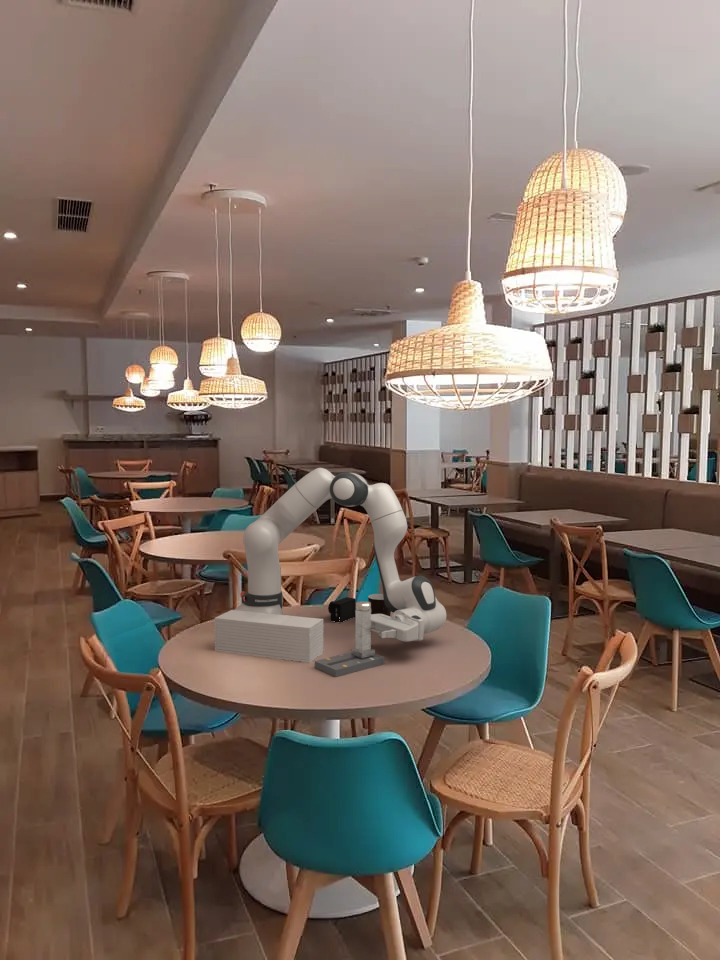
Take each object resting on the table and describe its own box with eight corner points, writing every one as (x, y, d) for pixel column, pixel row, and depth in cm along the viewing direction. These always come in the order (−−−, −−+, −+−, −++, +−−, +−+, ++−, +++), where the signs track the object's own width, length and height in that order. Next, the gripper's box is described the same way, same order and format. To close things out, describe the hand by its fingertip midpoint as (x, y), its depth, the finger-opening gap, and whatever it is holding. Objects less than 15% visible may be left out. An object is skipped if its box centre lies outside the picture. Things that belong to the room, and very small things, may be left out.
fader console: (335, 677, 207) (335, 669, 207) (314, 667, 215) (314, 660, 215) (384, 663, 219) (384, 656, 218) (362, 655, 226) (362, 648, 226)
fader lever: (361, 658, 216) (362, 606, 215) (351, 654, 220) (351, 602, 219) (374, 655, 219) (375, 603, 218) (364, 651, 223) (364, 600, 222)
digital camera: (343, 614, 274) (343, 596, 274) (356, 617, 271) (356, 598, 271) (327, 621, 265) (327, 602, 265) (340, 623, 263) (340, 604, 262)
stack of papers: (323, 653, 230) (323, 618, 229) (309, 663, 220) (309, 627, 219) (232, 642, 240) (231, 609, 239) (214, 651, 230) (214, 617, 229)
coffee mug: (370, 620, 266) (370, 593, 265) (394, 622, 264) (394, 594, 263) (364, 629, 255) (364, 601, 254) (388, 631, 253) (389, 602, 252)
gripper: (382, 606, 238) (348, 613, 229) (427, 620, 222) (392, 628, 213) (381, 626, 238) (348, 633, 229) (426, 641, 222) (392, 649, 214)
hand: (370, 631), depth 221 cm, fingers open, 8 cm apart
